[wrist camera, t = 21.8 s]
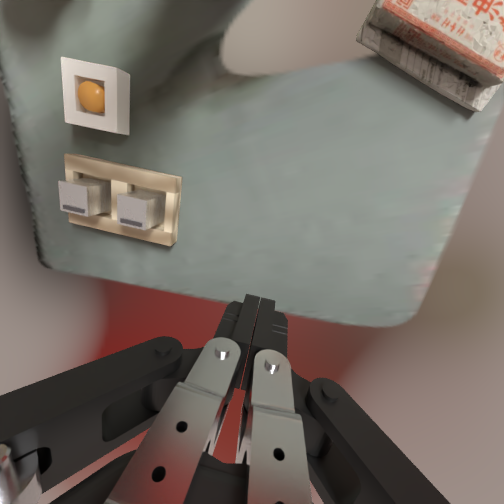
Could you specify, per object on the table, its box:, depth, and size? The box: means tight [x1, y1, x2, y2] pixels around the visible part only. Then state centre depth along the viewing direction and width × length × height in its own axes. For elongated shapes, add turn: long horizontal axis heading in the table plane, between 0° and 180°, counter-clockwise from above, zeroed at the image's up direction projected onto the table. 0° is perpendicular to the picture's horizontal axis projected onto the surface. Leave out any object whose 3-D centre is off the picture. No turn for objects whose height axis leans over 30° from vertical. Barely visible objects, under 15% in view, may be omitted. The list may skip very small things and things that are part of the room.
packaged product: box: [356, 0, 504, 112], centre depth 28 cm, size 18×5×10 cm
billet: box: [117, 189, 166, 230], centre depth 39 cm, size 4×4×6 cm
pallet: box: [64, 154, 182, 246], centre depth 42 cm, size 11×18×2 cm, turn 79°
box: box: [61, 57, 130, 135], centre depth 37 cm, size 8×8×3 cm
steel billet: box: [58, 178, 111, 217], centre depth 40 cm, size 4×4×6 cm
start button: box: [78, 81, 105, 113], centre depth 36 cm, size 4×4×2 cm
